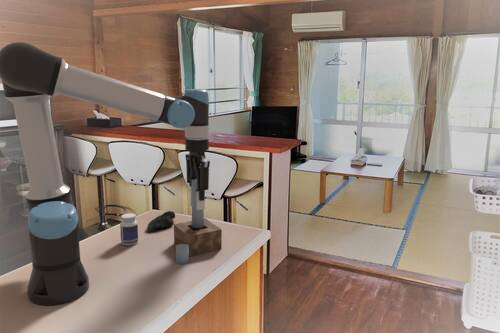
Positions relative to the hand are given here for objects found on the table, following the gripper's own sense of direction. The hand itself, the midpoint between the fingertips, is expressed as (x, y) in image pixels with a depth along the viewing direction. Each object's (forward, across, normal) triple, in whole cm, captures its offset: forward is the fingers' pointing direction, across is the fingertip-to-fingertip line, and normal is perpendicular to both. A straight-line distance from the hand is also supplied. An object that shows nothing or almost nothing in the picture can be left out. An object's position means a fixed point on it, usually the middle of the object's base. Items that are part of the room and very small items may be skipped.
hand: (197, 207), depth 142 cm
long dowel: (+7, 0, 0) cm, 7 cm away
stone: (+14, +23, +4) cm, 27 cm away
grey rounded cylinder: (+14, -8, +9) cm, 19 cm away
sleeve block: (+14, 0, 0) cm, 14 cm away
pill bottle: (+14, +14, +19) cm, 28 cm away
